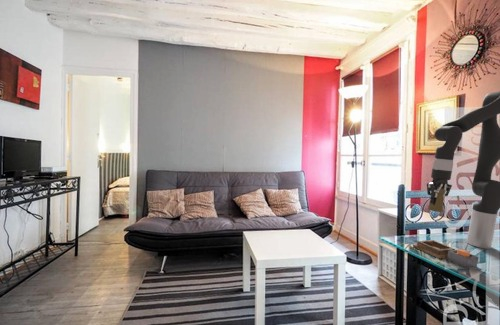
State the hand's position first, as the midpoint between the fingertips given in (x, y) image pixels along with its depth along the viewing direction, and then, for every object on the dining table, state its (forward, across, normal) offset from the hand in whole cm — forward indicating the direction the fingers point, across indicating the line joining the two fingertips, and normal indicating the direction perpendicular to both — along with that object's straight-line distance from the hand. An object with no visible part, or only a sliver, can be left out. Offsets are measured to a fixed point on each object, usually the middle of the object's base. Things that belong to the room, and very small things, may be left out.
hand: (436, 204), depth 124 cm
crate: (+20, +6, +7) cm, 22 cm away
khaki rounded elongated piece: (+3, 0, 0) cm, 3 cm away
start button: (+18, +6, +18) cm, 26 cm away
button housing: (+20, +6, +18) cm, 27 cm away
